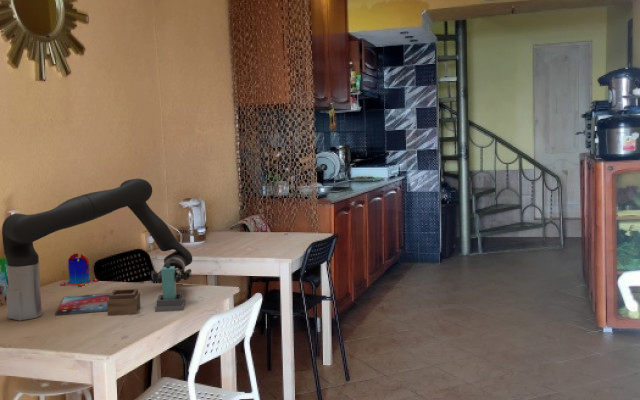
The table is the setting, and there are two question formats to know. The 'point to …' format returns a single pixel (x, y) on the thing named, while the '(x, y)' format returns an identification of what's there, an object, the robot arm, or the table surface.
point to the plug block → (168, 281)
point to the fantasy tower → (78, 271)
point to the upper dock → (123, 302)
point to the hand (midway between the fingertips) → (168, 280)
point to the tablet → (83, 304)
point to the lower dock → (170, 303)
